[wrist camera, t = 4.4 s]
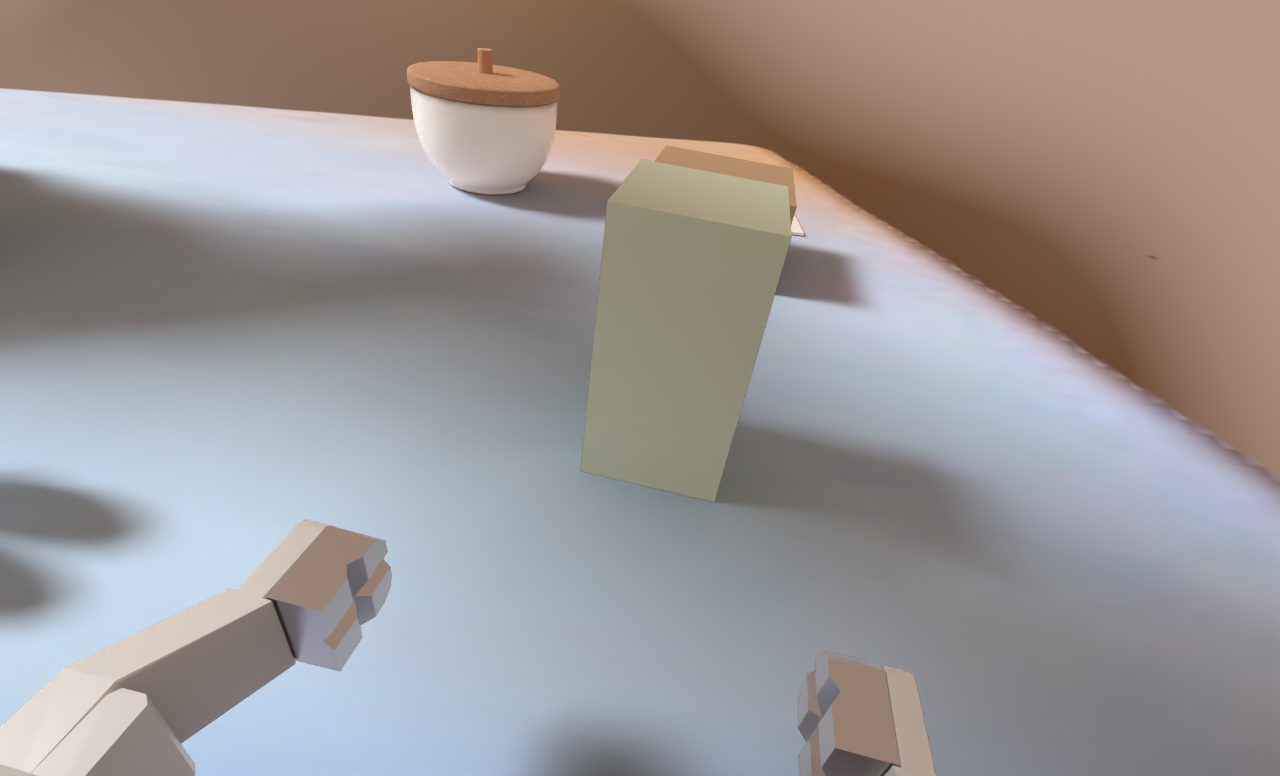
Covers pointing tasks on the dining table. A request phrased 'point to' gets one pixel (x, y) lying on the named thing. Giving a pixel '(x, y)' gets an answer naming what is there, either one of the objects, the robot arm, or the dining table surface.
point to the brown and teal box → (732, 168)
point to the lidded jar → (484, 122)
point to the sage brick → (680, 322)
